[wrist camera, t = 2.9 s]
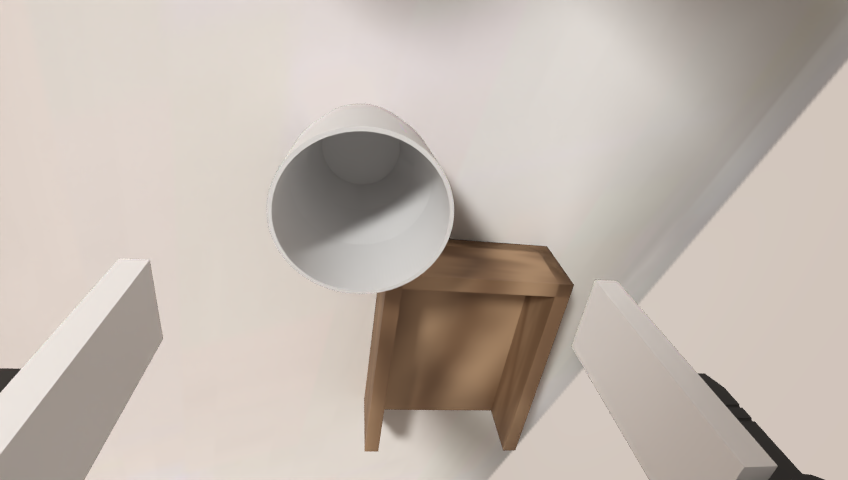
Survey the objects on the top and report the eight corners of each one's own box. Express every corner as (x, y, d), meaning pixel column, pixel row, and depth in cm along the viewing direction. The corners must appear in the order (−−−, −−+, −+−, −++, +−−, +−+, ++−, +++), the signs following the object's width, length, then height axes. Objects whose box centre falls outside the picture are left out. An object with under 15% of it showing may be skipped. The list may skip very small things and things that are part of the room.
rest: (364, 399, 40) (364, 451, 35) (384, 234, 32) (387, 273, 28) (498, 401, 42) (515, 450, 37) (547, 246, 34) (574, 285, 30)
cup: (270, 109, 27) (229, 169, 19) (400, 58, 27) (419, 96, 18) (329, 223, 31) (318, 316, 23) (443, 181, 31) (475, 259, 22)
